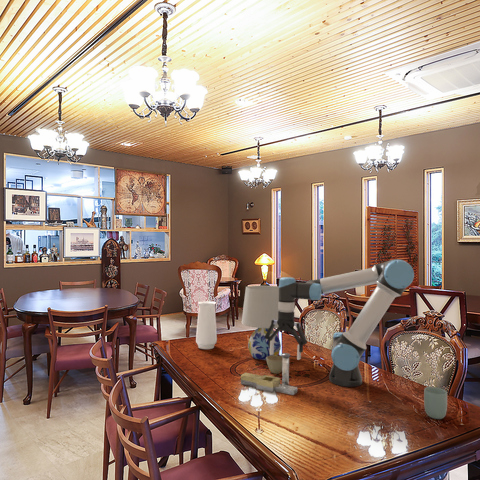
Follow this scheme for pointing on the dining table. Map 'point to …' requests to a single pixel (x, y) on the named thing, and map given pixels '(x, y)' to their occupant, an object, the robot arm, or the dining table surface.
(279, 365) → the flower pot
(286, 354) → the pin
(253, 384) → the bar with brass collar
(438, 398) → the cup
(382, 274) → the robot arm
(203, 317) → the vase
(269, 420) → the dining table surface
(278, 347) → the table lamp
